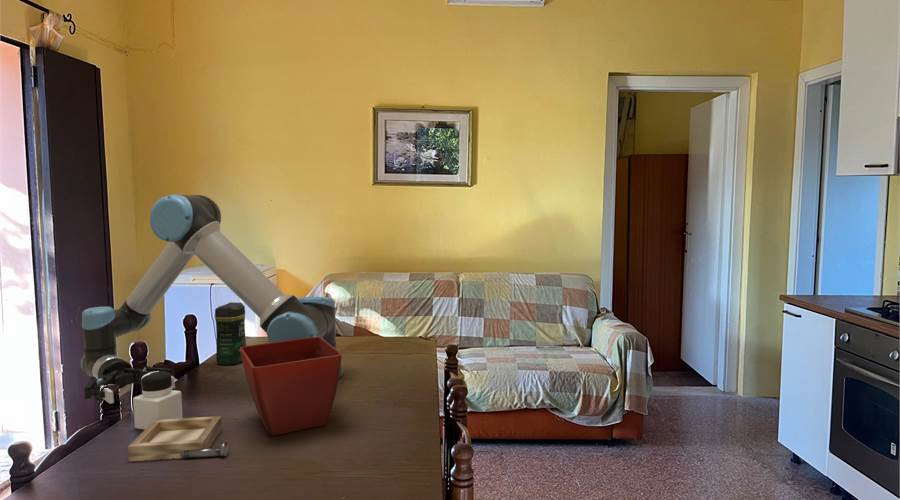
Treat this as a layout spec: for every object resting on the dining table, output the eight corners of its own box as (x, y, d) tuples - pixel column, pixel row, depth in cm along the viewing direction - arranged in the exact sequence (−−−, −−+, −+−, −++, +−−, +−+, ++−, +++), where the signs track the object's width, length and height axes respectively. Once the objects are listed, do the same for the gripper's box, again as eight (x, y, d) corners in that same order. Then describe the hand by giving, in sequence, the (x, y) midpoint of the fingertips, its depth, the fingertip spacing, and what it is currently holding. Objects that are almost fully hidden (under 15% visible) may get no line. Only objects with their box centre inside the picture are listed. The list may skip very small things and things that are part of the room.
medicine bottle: (183, 420, 135) (180, 370, 134) (159, 432, 128) (155, 379, 127) (159, 417, 137) (156, 367, 136) (134, 428, 130) (130, 376, 129)
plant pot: (255, 446, 120) (252, 366, 119) (242, 415, 137) (239, 346, 136) (345, 428, 129) (343, 354, 128) (322, 402, 146) (320, 336, 145)
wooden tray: (221, 429, 130) (221, 416, 129) (203, 456, 116) (202, 442, 115) (155, 433, 128) (154, 419, 128) (128, 461, 114) (127, 446, 114)
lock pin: (228, 452, 118) (227, 440, 117) (225, 458, 115) (224, 445, 115) (182, 455, 116) (182, 442, 116) (178, 461, 114) (177, 448, 114)
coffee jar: (237, 366, 178) (234, 306, 177) (212, 365, 179) (209, 306, 177) (251, 357, 188) (248, 300, 186) (227, 357, 189) (224, 300, 187)
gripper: (163, 375, 161) (197, 392, 146) (58, 398, 143) (84, 420, 128) (162, 348, 160) (195, 363, 146) (55, 368, 142) (81, 387, 128)
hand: (143, 390), depth 137 cm, fingers open, 13 cm apart
